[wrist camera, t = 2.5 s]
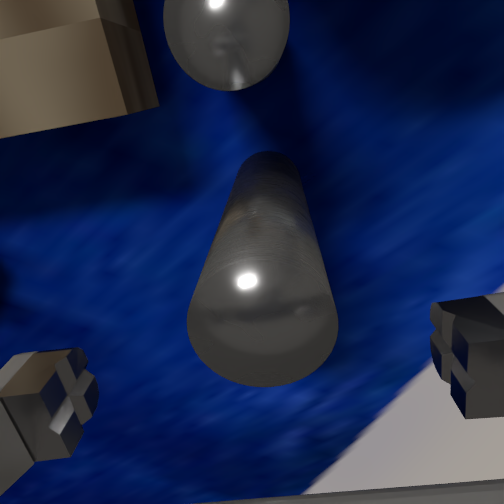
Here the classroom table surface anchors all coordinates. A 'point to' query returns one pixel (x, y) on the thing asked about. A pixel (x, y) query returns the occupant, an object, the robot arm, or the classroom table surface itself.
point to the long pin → (264, 283)
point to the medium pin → (227, 39)
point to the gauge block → (70, 64)
